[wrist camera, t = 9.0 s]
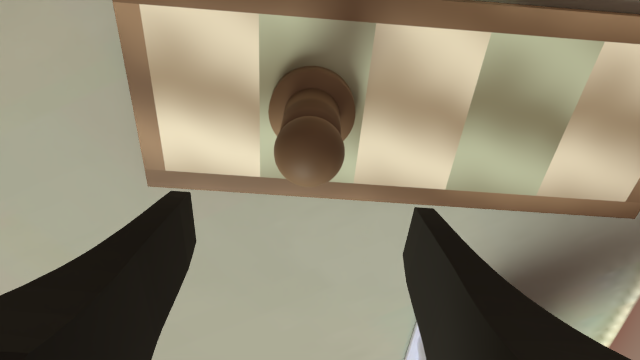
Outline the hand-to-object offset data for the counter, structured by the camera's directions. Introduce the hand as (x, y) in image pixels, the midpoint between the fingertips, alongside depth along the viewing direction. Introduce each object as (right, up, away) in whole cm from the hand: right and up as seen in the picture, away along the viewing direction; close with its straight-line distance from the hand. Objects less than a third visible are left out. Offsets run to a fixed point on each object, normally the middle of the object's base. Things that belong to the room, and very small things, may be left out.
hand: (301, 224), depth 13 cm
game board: (+6, +5, +9) cm, 12 cm away
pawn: (0, +5, +8) cm, 10 cm away
